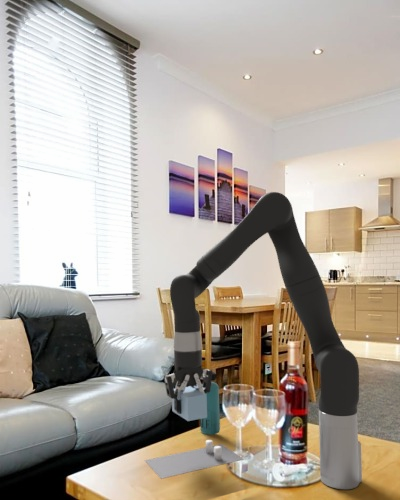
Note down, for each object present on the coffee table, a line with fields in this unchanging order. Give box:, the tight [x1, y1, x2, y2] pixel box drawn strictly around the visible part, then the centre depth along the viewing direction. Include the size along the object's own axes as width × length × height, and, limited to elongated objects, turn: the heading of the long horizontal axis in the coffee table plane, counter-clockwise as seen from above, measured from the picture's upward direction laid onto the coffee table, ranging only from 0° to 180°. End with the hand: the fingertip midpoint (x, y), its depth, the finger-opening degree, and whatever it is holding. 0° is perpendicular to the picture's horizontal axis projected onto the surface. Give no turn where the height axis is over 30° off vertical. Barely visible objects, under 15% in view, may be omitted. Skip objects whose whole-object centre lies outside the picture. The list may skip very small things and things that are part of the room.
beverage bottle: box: [199, 371, 221, 435], centre depth 140 cm, size 6×7×20 cm
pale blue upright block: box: [171, 386, 207, 422], centre depth 118 cm, size 6×10×6 cm, turn 28°
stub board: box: [144, 439, 244, 480], centre depth 118 cm, size 24×12×4 cm, turn 117°
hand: (189, 410), depth 118 cm, fingers closed on pale blue upright block, 5 cm apart
